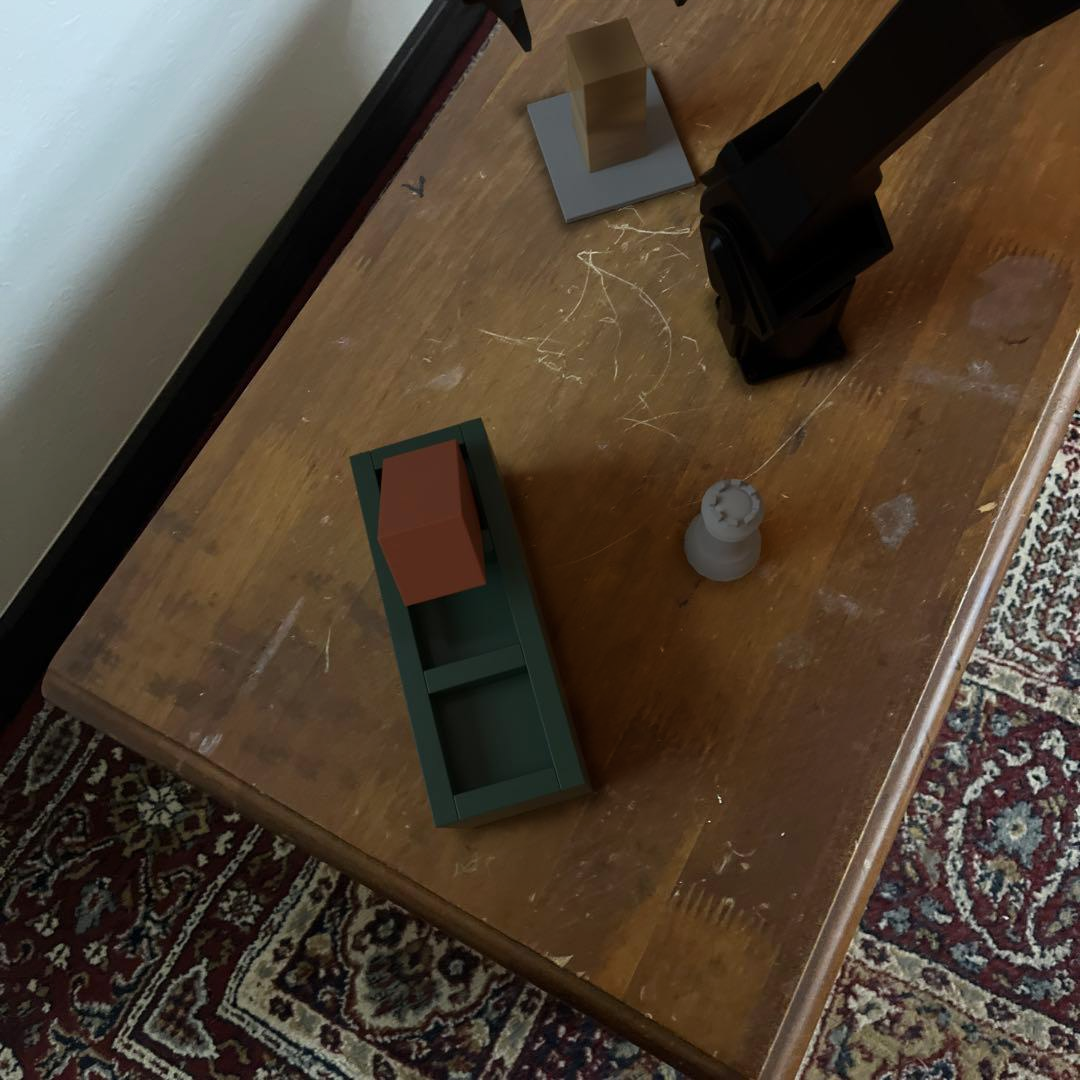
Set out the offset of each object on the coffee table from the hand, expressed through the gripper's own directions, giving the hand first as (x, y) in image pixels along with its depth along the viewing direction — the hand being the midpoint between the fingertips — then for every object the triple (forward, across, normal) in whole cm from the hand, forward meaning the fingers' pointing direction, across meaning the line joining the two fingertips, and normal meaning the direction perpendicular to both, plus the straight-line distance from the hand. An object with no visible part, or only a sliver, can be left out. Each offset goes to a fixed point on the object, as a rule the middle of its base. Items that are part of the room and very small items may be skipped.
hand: (601, 23), depth 56 cm
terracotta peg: (0, +17, +27) cm, 32 cm away
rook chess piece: (+10, +2, +30) cm, 31 cm away
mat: (+10, 0, 0) cm, 10 cm away
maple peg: (+6, 0, 0) cm, 6 cm away
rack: (+10, +17, +31) cm, 37 cm away
